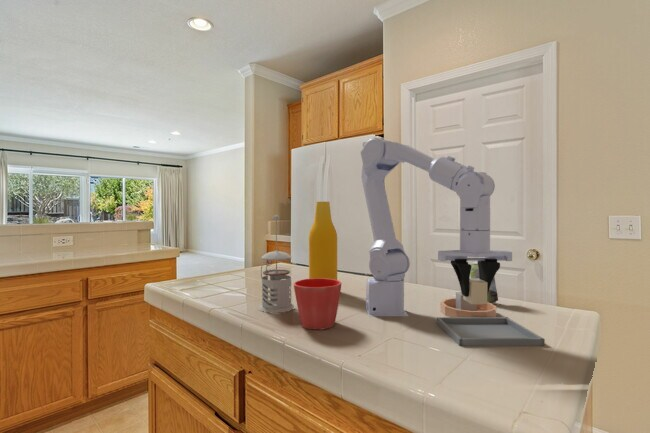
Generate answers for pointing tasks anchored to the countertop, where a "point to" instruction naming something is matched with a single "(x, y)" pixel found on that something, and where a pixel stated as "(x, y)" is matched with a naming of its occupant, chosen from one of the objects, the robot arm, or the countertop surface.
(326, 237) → the beer bottle
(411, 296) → the countertop surface
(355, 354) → the countertop surface
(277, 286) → the french press
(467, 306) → the grey sharp-edged cube
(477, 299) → the cream wooden cube
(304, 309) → the flower pot
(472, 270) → the beverage can
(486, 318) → the tray
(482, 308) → the bowl
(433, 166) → the robot arm
